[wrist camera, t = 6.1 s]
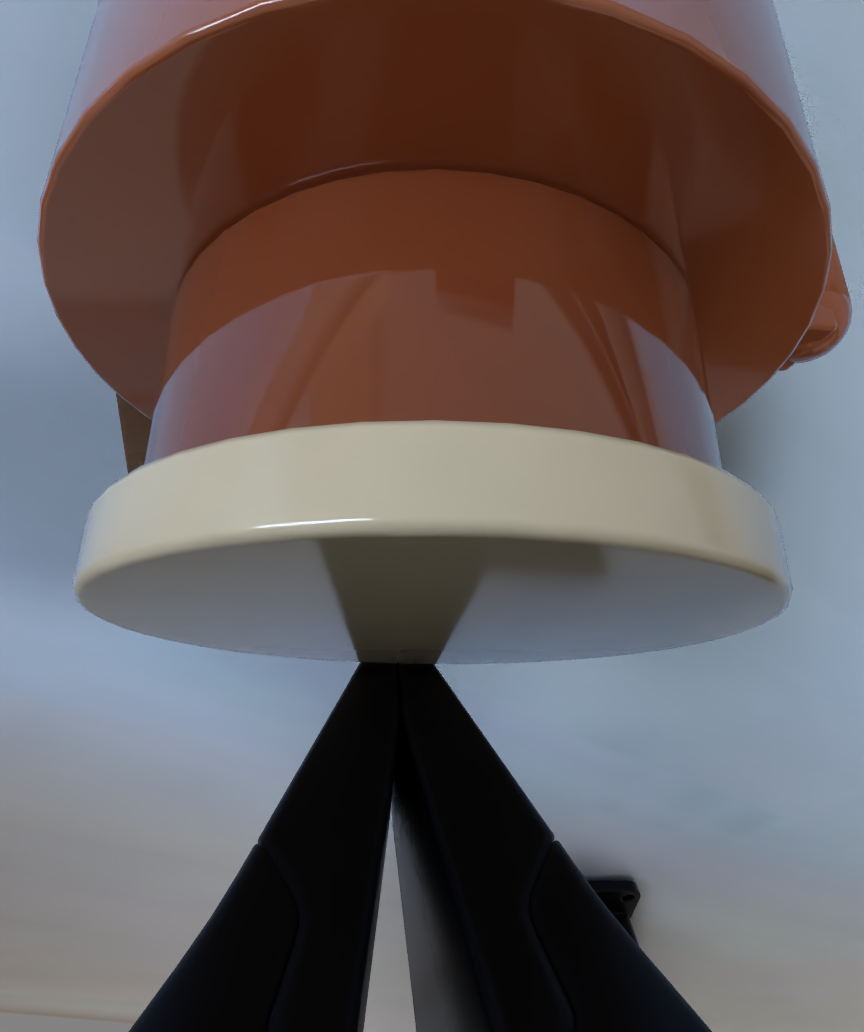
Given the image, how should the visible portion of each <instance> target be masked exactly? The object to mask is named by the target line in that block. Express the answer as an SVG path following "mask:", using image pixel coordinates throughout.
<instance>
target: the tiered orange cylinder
mask: <svg viewBox="0 0 864 1032" xmlns="http://www.w3.org/2000/svg"><path fill="white" fill-rule="evenodd" d="M37 242H38V248H39V255H40V261H41V268H42V274H43V280H44V283H45V286H46V289H47V291H48V294H49V297H50V299H51V302H52V305H53V308H54V310H55V313H56V316H57V318H58V319H59V321H60V323H61V324H62V326H63V328H64V330H65V331H66V333H67V335H68V336H69V338H70V340H71V341H72V343H73V345H74V347H75V348H76V349H77V350H78V352H79V353H80V354H81V355H82V356H83V358H84V359H85V360H86V361H87V363H88V364H89V365H90V366H91V368H92V369H93V370H94V371H95V373H96V374H97V375H98V376H99V377H101V378H102V379H103V380H104V381H105V382H106V383H107V384H108V385H109V386H110V387H111V388H112V389H113V390H114V391H115V392H116V393H117V394H118V395H119V396H120V397H122V398H123V399H124V400H126V401H127V402H128V403H129V404H131V405H132V406H133V407H135V408H136V409H137V410H138V411H140V412H141V413H142V414H144V415H145V416H146V417H148V418H149V419H151V420H152V425H151V431H150V436H149V442H148V447H147V452H146V458H145V463H144V465H142V466H140V467H138V468H137V469H135V470H133V471H131V472H130V473H128V474H126V475H125V476H123V477H121V478H120V479H118V480H116V481H114V482H113V483H112V484H111V485H110V486H109V487H108V488H107V489H106V490H105V491H104V492H103V493H102V494H101V495H100V496H99V497H98V498H97V499H96V500H95V501H94V503H93V504H92V506H91V508H90V510H89V513H88V515H87V518H86V520H85V525H84V529H83V534H82V539H81V544H80V548H79V553H78V558H77V562H76V567H75V572H74V576H73V581H72V585H73V589H74V593H75V597H76V600H77V602H78V603H79V604H80V605H81V606H82V607H83V608H84V609H85V610H86V611H88V612H90V613H92V614H93V615H95V616H97V617H99V618H100V619H103V620H105V621H107V622H110V623H112V624H115V625H117V626H120V627H122V628H125V629H128V630H131V631H135V632H138V633H141V634H145V635H149V636H153V637H157V638H161V639H165V640H170V641H175V642H180V643H185V644H190V645H196V646H202V647H208V648H215V649H221V650H229V651H236V652H244V653H252V654H261V655H270V656H281V657H292V658H304V659H317V660H333V661H350V662H373V663H406V664H487V663H519V662H541V661H558V660H573V659H586V658H598V657H608V656H618V655H627V654H635V653H644V652H651V651H658V650H664V649H671V648H677V647H682V646H688V645H694V644H698V643H703V642H707V641H712V640H716V639H720V638H724V637H727V636H731V635H734V634H738V633H741V632H744V631H746V630H749V629H752V628H754V627H757V626H759V625H762V624H764V623H766V622H767V621H769V620H771V619H773V618H775V617H777V616H778V615H779V614H781V613H782V612H783V611H784V610H785V609H786V608H787V607H788V604H789V601H790V598H791V595H792V591H793V587H792V582H791V577H790V572H789V566H788V561H787V556H786V551H785V546H784V541H783V536H782V531H781V526H780V523H779V521H778V518H777V515H776V513H775V510H774V509H773V508H772V506H771V505H770V504H769V503H768V502H767V501H766V499H765V498H764V497H763V496H762V495H761V494H760V493H759V492H758V491H757V490H756V489H755V488H754V487H752V486H751V485H749V484H748V483H746V482H744V481H743V480H741V479H739V478H738V477H736V476H735V475H733V474H731V473H730V472H728V471H726V470H723V469H722V464H721V458H720V452H719V446H718V440H717V434H716V428H715V424H716V423H718V422H719V421H721V420H722V419H724V418H725V417H726V416H728V415H729V414H730V413H732V412H733V411H734V410H736V409H737V408H738V407H740V406H741V405H742V404H744V403H745V402H746V401H748V400H749V399H750V398H751V397H752V396H753V395H754V394H755V393H756V392H757V391H758V390H759V389H761V388H762V387H763V386H764V385H765V384H766V383H767V382H768V381H769V380H770V379H771V378H772V377H773V376H774V375H775V374H776V372H777V371H784V370H787V369H789V368H790V367H791V366H793V365H794V364H795V363H803V362H808V361H812V360H815V359H818V358H820V357H822V356H824V355H826V354H827V353H829V352H830V351H831V350H832V349H834V348H835V347H836V346H837V345H838V344H839V343H840V342H841V340H842V339H843V338H844V336H845V335H846V333H847V331H848V328H849V326H850V323H851V318H852V305H851V300H850V297H849V293H848V290H847V286H846V282H845V279H844V275H843V271H842V268H841V264H840V261H839V257H838V253H837V250H836V246H835V243H834V239H833V235H832V226H831V207H830V203H829V199H828V196H827V192H826V189H825V185H824V182H823V178H822V174H821V171H820V167H819V164H818V160H817V157H816V153H815V149H814V146H813V142H812V139H811V135H810V132H809V128H808V124H807V121H806V117H805V114H804V110H803V107H802V103H801V100H800V96H799V92H798V89H797V85H796V82H795V78H794V75H793V71H792V67H791V64H790V60H789V57H788V53H787V50H786V46H785V42H784V39H783V35H782V32H781V28H780V25H779V21H778V17H777V14H776V10H775V7H774V3H773V0H99V3H98V7H97V10H96V13H95V17H94V20H93V24H92V27H91V30H90V34H89V37H88V40H87V44H86V47H85V51H84V54H83V57H82V61H81V64H80V68H79V71H78V74H77V78H76V81H75V84H74V88H73V91H72V95H71V98H70V101H69V105H68V108H67V112H66V115H65V118H64V122H63V125H62V128H61V132H60V135H59V139H58V142H57V145H56V149H55V152H54V155H53V159H52V162H51V166H50V169H49V172H48V176H47V179H46V183H45V186H44V189H43V193H42V196H41V199H40V212H39V225H38V239H37Z"/></svg>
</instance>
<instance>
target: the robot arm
mask: <svg viewBox="0 0 864 1032" xmlns="http://www.w3.org/2000/svg"><path fill="white" fill-rule="evenodd" d="M391 802H392V820H393V831H394V840H395V848H396V857H397V866H398V874H399V883H400V892H401V901H402V909H403V918H404V927H405V935H406V944H407V953H408V961H409V970H410V979H411V987H412V996H413V1005H414V1013H415V1022H416V1031H417V1032H712V1031H711V1030H710V1029H709V1027H708V1026H707V1025H706V1024H705V1023H704V1022H703V1020H702V1019H701V1018H700V1017H699V1016H698V1015H697V1014H696V1012H695V1011H694V1010H693V1009H692V1008H691V1007H690V1005H689V1004H688V1003H687V1002H686V1001H685V1000H684V998H683V997H682V996H681V995H680V994H679V993H678V991H677V990H676V989H675V988H674V987H673V986H672V984H671V983H670V982H669V981H668V980H667V979H666V977H665V976H664V975H663V974H662V973H661V972H660V970H659V969H658V968H657V967H656V966H655V965H654V964H653V962H652V961H651V960H650V959H649V958H648V957H647V955H646V954H645V953H644V952H643V951H642V949H641V948H640V947H639V945H638V942H637V939H636V936H635V933H634V930H633V927H632V924H631V921H630V918H631V916H632V914H633V911H634V909H635V907H636V905H637V903H638V901H639V898H640V893H639V890H638V887H637V885H636V883H635V882H633V881H628V880H623V881H587V880H586V879H585V878H584V876H583V875H582V874H581V872H580V871H579V869H578V868H577V867H576V865H575V864H574V863H573V861H572V860H571V858H570V857H569V855H568V854H567V852H566V851H565V850H564V848H563V847H562V845H561V844H560V842H559V841H557V840H556V841H554V834H553V833H552V831H551V830H550V829H549V827H548V826H547V824H546V823H545V822H544V820H543V819H542V817H541V816H540V814H539V813H538V812H537V810H536V809H535V807H534V806H533V804H532V803H531V802H530V800H529V799H528V797H527V796H526V795H525V793H524V792H523V790H522V789H521V787H520V786H519V785H518V783H517V782H516V780H515V779H514V777H513V776H512V775H511V773H510V772H509V770H508V769H507V768H506V766H505V765H504V763H503V762H502V760H501V759H500V758H499V756H498V755H497V753H496V752H495V750H494V749H493V748H492V746H491V745H490V743H489V742H488V741H487V739H486V738H485V736H484V735H483V733H482V732H481V731H480V729H479V728H478V726H477V725H476V724H475V722H474V721H473V719H472V718H471V716H470V715H469V714H468V712H467V711H466V709H465V708H464V706H463V705H462V704H461V702H460V701H459V699H458V698H457V697H456V695H455V694H454V692H453V691H452V689H451V688H450V687H449V685H448V684H447V682H446V681H445V679H444V678H443V677H442V675H441V674H440V672H439V671H438V670H437V668H436V667H435V665H434V664H406V663H373V662H360V664H359V666H358V667H357V669H356V671H355V673H354V674H353V676H352V678H351V680H350V681H349V683H348V685H347V687H346V688H345V690H344V692H343V693H342V695H341V697H340V699H339V700H338V702H337V704H336V706H335V707H334V709H333V711H332V712H331V714H330V716H329V718H328V719H327V721H326V723H325V725H324V726H323V728H322V730H321V731H320V733H319V735H318V737H317V738H316V740H315V742H314V744H313V745H312V747H311V749H310V750H309V752H308V754H307V756H306V757H305V759H304V761H303V763H302V764H301V766H300V768H299V769H298V771H297V773H296V775H295V776H294V778H293V780H292V782H291V783H290V785H289V787H288V788H287V790H286V792H285V794H284V795H283V797H282V799H281V801H280V802H279V804H278V806H277V808H276V809H275V811H274V813H273V814H272V816H271V818H270V820H269V821H268V823H267V825H266V827H265V828H264V830H263V832H262V833H261V835H260V837H259V839H258V844H256V845H254V847H253V848H252V850H251V852H250V854H249V855H248V857H247V859H246V860H245V862H244V864H243V866H242V867H241V869H240V871H239V873H238V874H237V876H236V877H235V879H234V881H233V882H232V884H231V885H230V887H229V889H228V890H227V892H226V894H225V895H224V897H223V898H222V900H221V902H220V903H219V905H218V906H217V908H216V910H215V911H214V913H213V915H212V916H211V918H210V919H209V921H208V922H207V924H206V925H205V926H204V928H203V929H202V931H201V932H200V934H199V935H198V936H197V938H196V939H195V941H194V942H193V944H192V945H191V946H190V948H189V949H188V951H187V952H186V954H185V955H184V956H183V958H182V959H181V961H180V962H179V964H178V965H177V967H176V968H175V969H174V971H173V972H172V973H171V975H170V976H169V978H168V979H167V980H166V982H165V983H164V984H163V986H162V987H161V988H160V990H159V991H158V992H157V994H156V995H155V997H154V998H153V999H152V1001H151V1002H150V1003H149V1005H148V1006H147V1007H146V1009H145V1010H144V1011H143V1013H142V1014H141V1016H140V1017H139V1018H138V1020H137V1021H136V1022H135V1024H134V1025H133V1026H132V1028H131V1029H130V1031H129V1032H363V1029H364V1021H365V1013H366V1005H367V997H368V989H369V981H370V973H371V965H372V957H373V949H374V941H375V933H376V925H377V917H378V909H379V901H380V893H381V885H382V877H383V869H384V861H385V853H386V845H387V837H388V829H389V820H390V810H391Z"/></svg>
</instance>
